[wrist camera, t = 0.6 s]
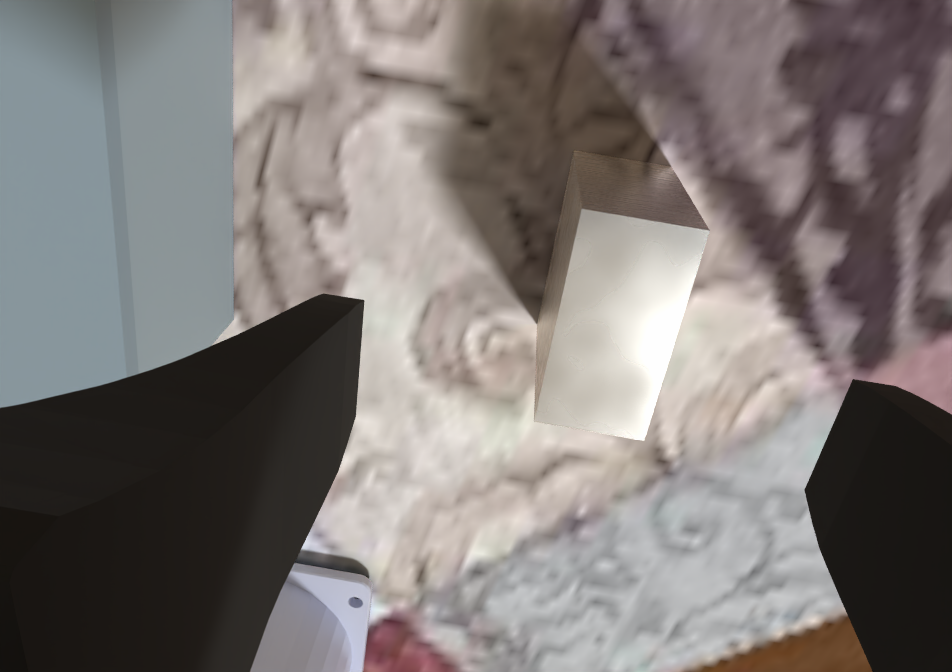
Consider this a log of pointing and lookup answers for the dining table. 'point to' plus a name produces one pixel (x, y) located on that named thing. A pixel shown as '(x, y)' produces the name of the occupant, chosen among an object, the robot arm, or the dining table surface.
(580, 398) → the white block
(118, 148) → the grey tissue box
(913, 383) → the dining table surface
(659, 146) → the dining table surface
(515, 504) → the dining table surface
